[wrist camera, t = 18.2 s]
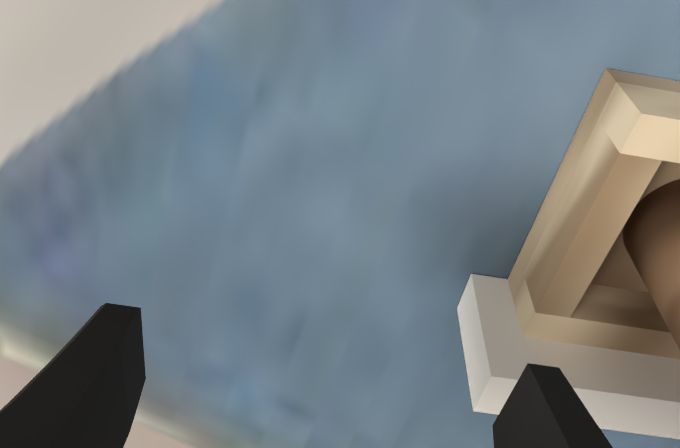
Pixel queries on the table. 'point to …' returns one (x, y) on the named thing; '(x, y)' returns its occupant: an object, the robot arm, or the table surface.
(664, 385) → the wall
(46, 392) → the robot arm
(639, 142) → the socket block
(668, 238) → the dowel
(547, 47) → the table surface
